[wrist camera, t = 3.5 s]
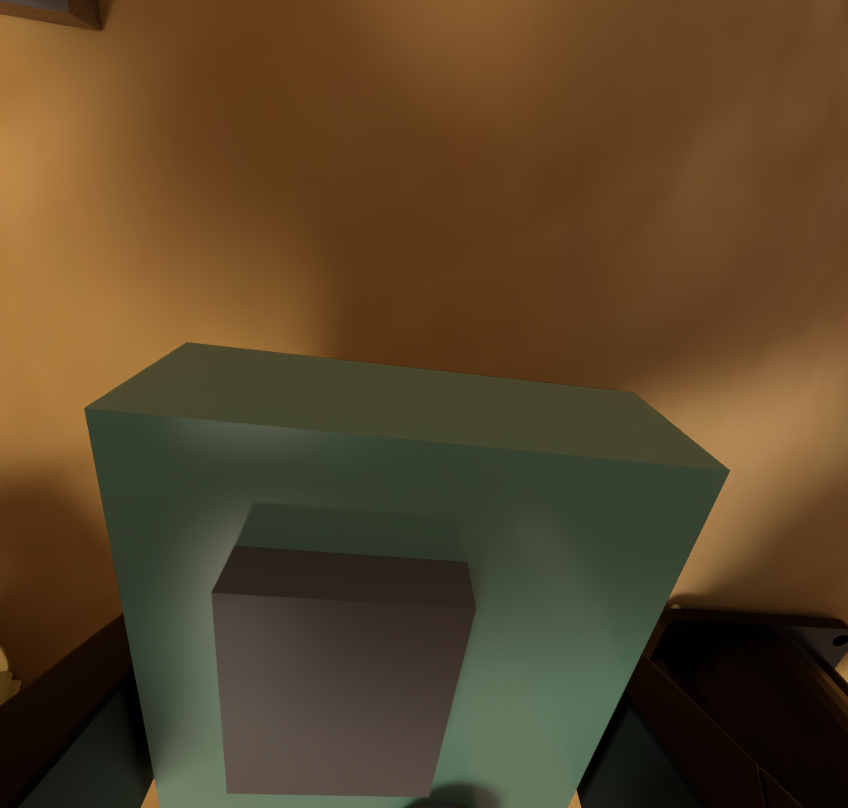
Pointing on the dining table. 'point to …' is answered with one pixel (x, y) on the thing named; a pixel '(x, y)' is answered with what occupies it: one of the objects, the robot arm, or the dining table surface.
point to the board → (385, 574)
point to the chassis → (55, 11)
